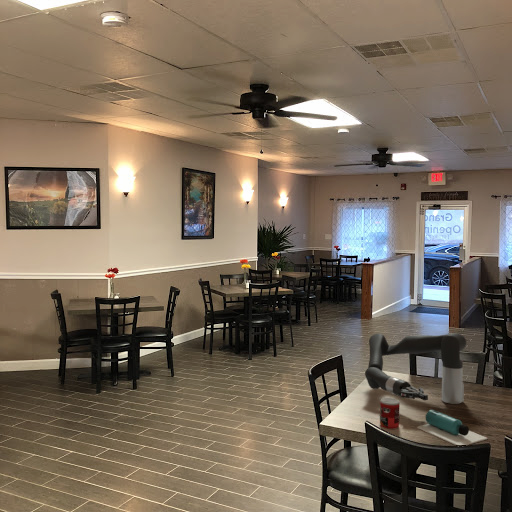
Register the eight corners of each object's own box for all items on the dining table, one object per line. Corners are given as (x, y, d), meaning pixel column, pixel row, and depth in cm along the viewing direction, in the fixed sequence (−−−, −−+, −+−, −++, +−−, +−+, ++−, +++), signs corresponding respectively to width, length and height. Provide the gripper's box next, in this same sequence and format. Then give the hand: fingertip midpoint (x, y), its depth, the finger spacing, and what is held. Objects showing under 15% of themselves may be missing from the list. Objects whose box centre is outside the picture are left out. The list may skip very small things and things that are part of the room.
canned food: (377, 422, 230) (377, 397, 230) (395, 422, 231) (395, 397, 230) (383, 429, 223) (383, 403, 222) (401, 429, 223) (402, 403, 223)
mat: (417, 427, 225) (417, 426, 225) (443, 421, 232) (443, 420, 232) (459, 447, 205) (460, 445, 205) (487, 439, 213) (487, 438, 213)
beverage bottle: (426, 425, 229) (465, 442, 212) (420, 416, 227) (458, 432, 209) (435, 414, 231) (474, 430, 214) (428, 404, 229) (467, 419, 211)
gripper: (408, 392, 249) (437, 404, 234) (387, 397, 242) (415, 409, 227) (408, 377, 248) (437, 387, 233) (387, 381, 242) (415, 391, 227)
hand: (426, 398), depth 230 cm, fingers closed
